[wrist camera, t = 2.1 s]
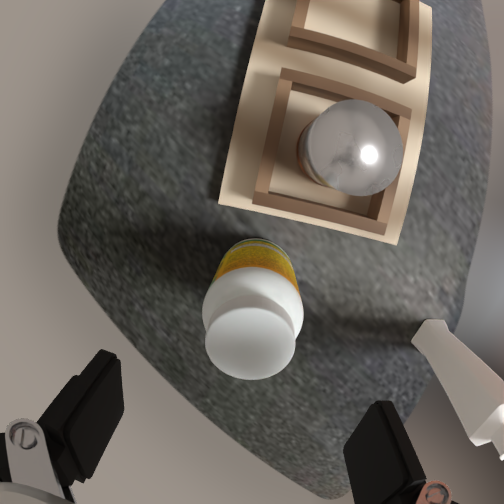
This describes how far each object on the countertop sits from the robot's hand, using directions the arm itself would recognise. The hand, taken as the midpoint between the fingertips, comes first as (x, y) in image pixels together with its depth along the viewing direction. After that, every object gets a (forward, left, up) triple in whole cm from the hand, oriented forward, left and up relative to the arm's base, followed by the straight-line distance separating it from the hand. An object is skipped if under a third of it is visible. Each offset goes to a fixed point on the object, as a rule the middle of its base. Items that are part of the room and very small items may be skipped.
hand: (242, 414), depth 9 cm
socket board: (-16, +3, -13) cm, 21 cm away
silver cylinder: (-10, +3, -12) cm, 16 cm away
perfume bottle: (+2, +17, -13) cm, 22 cm away
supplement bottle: (-1, 0, -13) cm, 13 cm away
